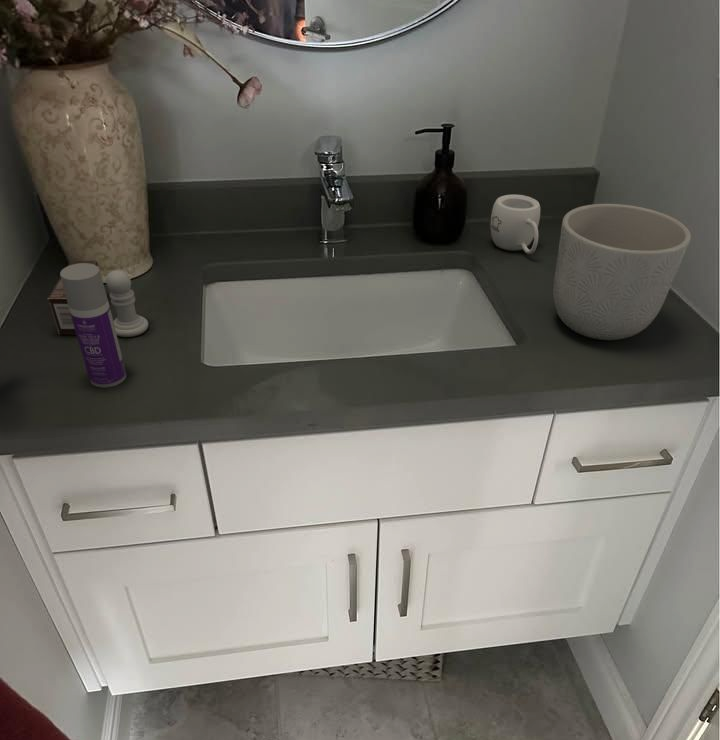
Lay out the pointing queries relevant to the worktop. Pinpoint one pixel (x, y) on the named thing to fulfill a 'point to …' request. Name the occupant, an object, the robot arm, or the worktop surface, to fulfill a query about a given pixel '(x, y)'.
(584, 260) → the planter
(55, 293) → the box
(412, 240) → the worktop surface
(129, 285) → the chess piece
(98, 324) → the container
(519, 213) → the mug
